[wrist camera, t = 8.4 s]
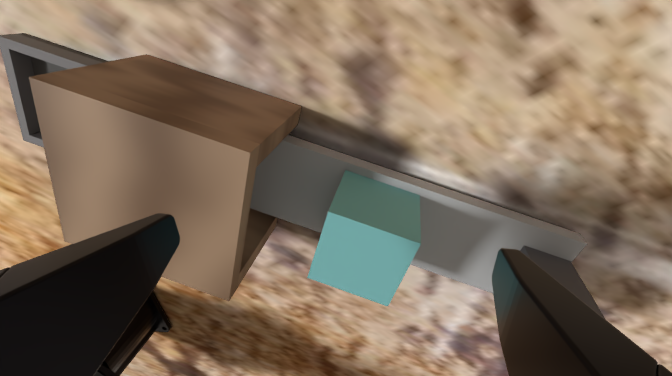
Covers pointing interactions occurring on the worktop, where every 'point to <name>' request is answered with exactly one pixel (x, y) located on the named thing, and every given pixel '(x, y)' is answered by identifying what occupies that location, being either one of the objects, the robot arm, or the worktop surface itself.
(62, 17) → the worktop surface
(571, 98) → the worktop surface
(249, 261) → the tunnel
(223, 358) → the worktop surface
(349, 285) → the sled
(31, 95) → the pit
